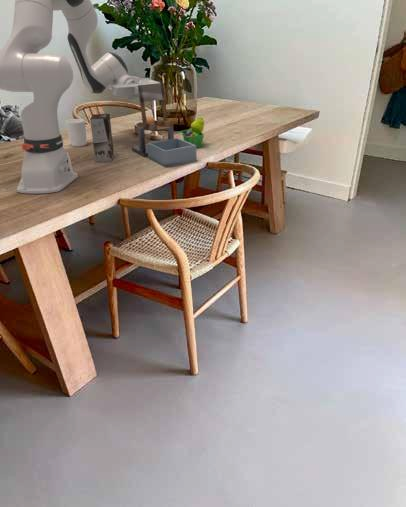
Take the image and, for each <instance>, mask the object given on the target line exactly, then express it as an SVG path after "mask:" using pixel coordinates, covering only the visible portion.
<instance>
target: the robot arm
mask: <svg viewBox="0 0 406 507" xmlns="http://www.w3.org/2000/svg"><path fill="white" fill-rule="evenodd" d="M55 11H61V13H62V15H63V16H64V17H65V20H66V23H67V27H68V34H67V36H66V37H67V41H68V45H69V47H70V50H71V53H72V55H73V58H74V60H75V62H76V65H77V68H78V69H79V73H80V76H81V80H82V82H83V84H84V86H85V88H86V89H87V90H88V91H89V92H90V93H91V94H102V93H103V92H104V91H105V90H106V89H107V87H108V92H111V93H112V95H113V96H115V97H124V98H127V99H130V100H134V99H136V98H139V91H138V85H146V84H157V83H160V81H156V80H153V79H150V77H141V76H139V77H138V76H134V75H133V76H132V75H129V70H128V67H127V65H126V62H125V61H124V59H123V58H122V57H121V56H120V55H118V54H117V53H114V52H111V51H108V52H106V53H105V54H103V55H102V56H101V57H100V58H99V59H98V60H97V61H96V62H95V63H93V64H92V65H91V63H90V60H89V58H88V55H87V47H88V44H89V42H90V40H91V38H92V36H94V33H95V32H96V30H97V27H98V20H99V18H98V14H97V11H96V8H95V7H94V5H93V3H92V1H91V0H14V11H13V12H14V13H13V14H14V15H13V22H12V29H11V33H10V34H9V37H8V40H7V41H6V42H5V44H4V45H3V46H2V48H1V49H0V90H2V91H6V92H7V91H8V92H11V93H33V102H31V103H29V104H28V105H26V106H25V107H23V109H22V110H21V112H20V122H21V125H22V131H23V136H24V137H23V143H21V148H22V149H21V150H23V151H25V152H24V155H23V159H22V160H23V161H22V165H21V169H20V171H21V174H20V175H21V177H20V180H19V183H18V184H17V187H16V192H17V193H19V194H20V193H22V194H30V195H31V194H49V193H57V192H61V191H62V190H63V189H65V188H66V187H67V186H68V185H70V184H71V183H72V182H73V181H75V180H76V179H77V178H78V177H79V175H78V172H74V170H73V166H72V160H71V157H70V153H69V152H68V151H67V150H66V149H65V148H64V141H63V140H64V139H63V136H62V134H61V133H60V127H59V117H58V110H59V109H58V107H59V103H60V100H61V98H62V97H63V95H64V93H65V92H67V90H69V88H70V87H71V85H72V83H73V80H74V72H73V71H74V70H73V67H72V65H71V64H70V61H69V60H67V58H66V57H65V56H63V55H58V54H54V53H49V52H47V53H46V52H45V53H42V52H41V53H39V52H40V51H42V50H43V49H45V48H46V47H47V46H48V45H49V44H50V43H51V40H52V39H53V37H52V36H53V22H54V20H53V19H54V12H55Z"/></svg>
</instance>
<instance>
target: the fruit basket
mask: <svg viewBox="0 0 406 507" xmlns="http://www.w3.org/2000/svg"><path fill="white" fill-rule="evenodd" d="M204 125H205V121H204V118H202V117H201V116H200V117H197V118H196V120H194V121H193V122H192V123H191V124H190V128H189V129H188V130H187V129H185V130H181V134H182V136H183V140H184V141H187V142H189V143H192V144H194V145H196V148H201V147H202V145H203V144H202V143H203V140H204V137H205V135H204V134H203V131H204V128H205V127H204Z"/></svg>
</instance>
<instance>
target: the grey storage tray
mask: <svg viewBox="0 0 406 507" xmlns="http://www.w3.org/2000/svg"><path fill="white" fill-rule="evenodd" d="M146 145H147V146H148V157H147V158H148V159H149V160H151V161H153V162H155V163H156V164H158V165H160V166H161V167H164V168H169V167H174V166H180V165H185V164H189V163H195V162H197V160H198V159H197V147H196V145H194V144H192V143H189V142H187V141H184V139H181V138H179V137H174V139H168V138H167V139H162V140H157V141H151V142H147V144H146Z"/></svg>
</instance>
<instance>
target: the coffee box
mask: <svg viewBox="0 0 406 507" xmlns="http://www.w3.org/2000/svg"><path fill="white" fill-rule="evenodd" d="M89 119H90V120H89V121H90V130H91V137H92V143H93V151H94V152H93V154H94V160H95V162H96V163H97V162H99V163H100V162H112V161H113V158H114V155H115V150H114V142H113V134H112V126H111V114H110V113H98V114H94V113H93V114H92V116H91V117H90V118H89Z"/></svg>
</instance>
